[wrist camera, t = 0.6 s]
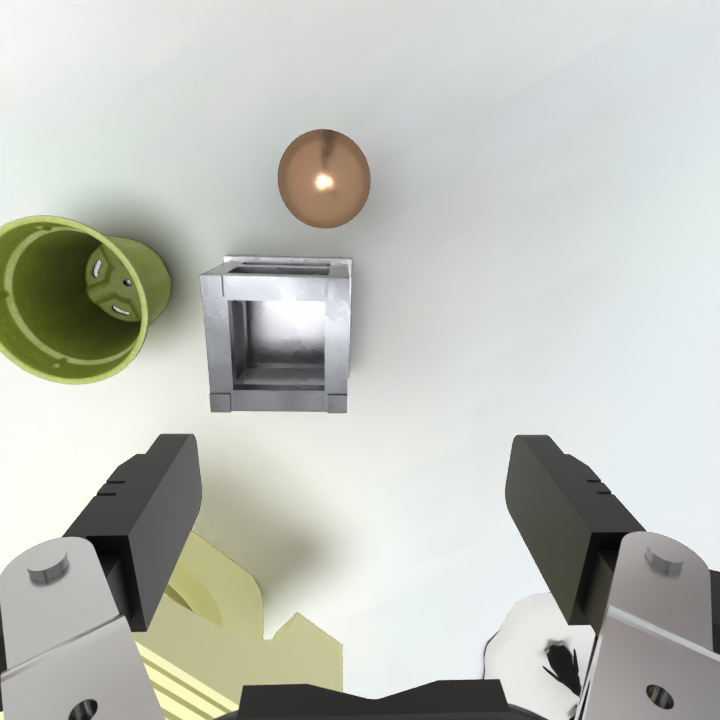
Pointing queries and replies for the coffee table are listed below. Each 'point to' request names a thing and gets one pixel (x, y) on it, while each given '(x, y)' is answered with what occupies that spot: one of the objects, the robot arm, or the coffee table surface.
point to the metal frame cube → (278, 333)
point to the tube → (324, 178)
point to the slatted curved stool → (225, 640)
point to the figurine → (540, 658)
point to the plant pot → (75, 299)
